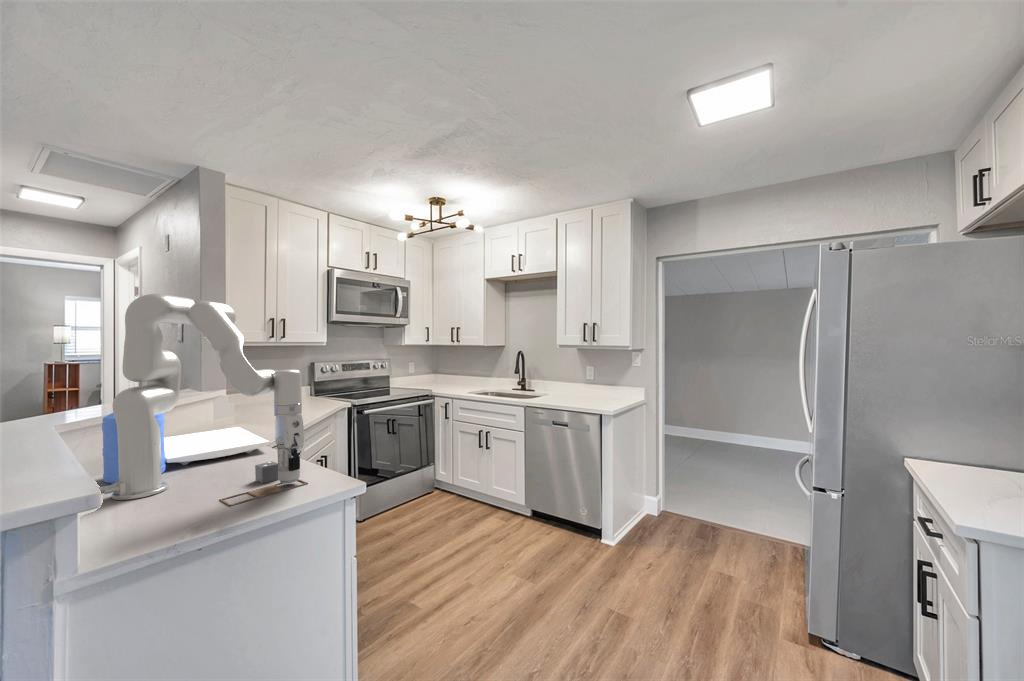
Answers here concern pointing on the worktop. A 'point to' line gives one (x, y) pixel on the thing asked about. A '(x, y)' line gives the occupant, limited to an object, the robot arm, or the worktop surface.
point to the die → (266, 472)
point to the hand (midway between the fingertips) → (289, 467)
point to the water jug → (112, 447)
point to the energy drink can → (285, 464)
